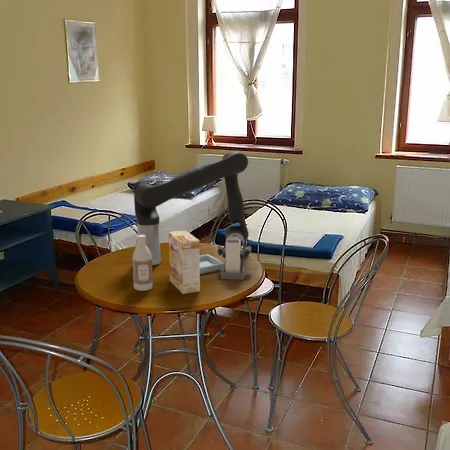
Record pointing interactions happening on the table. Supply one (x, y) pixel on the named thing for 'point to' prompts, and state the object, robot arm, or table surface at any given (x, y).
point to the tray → (210, 264)
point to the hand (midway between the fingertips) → (232, 256)
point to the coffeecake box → (184, 261)
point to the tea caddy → (233, 254)
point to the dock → (232, 274)
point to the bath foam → (142, 266)
